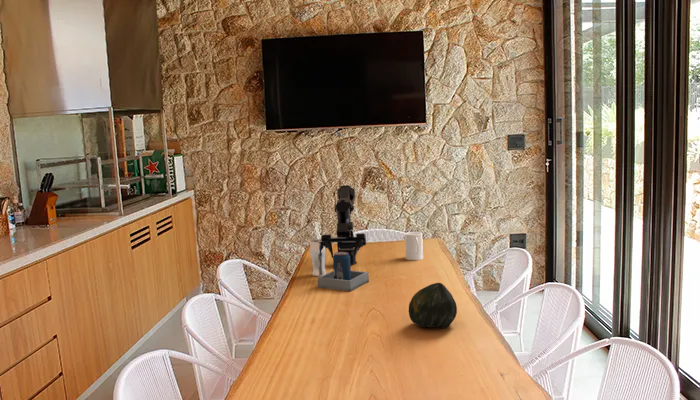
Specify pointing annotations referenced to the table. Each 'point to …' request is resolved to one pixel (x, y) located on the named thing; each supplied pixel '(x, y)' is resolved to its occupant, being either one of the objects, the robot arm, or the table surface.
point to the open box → (343, 281)
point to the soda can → (341, 266)
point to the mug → (414, 245)
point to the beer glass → (318, 257)
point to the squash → (433, 307)
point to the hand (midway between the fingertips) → (343, 257)
